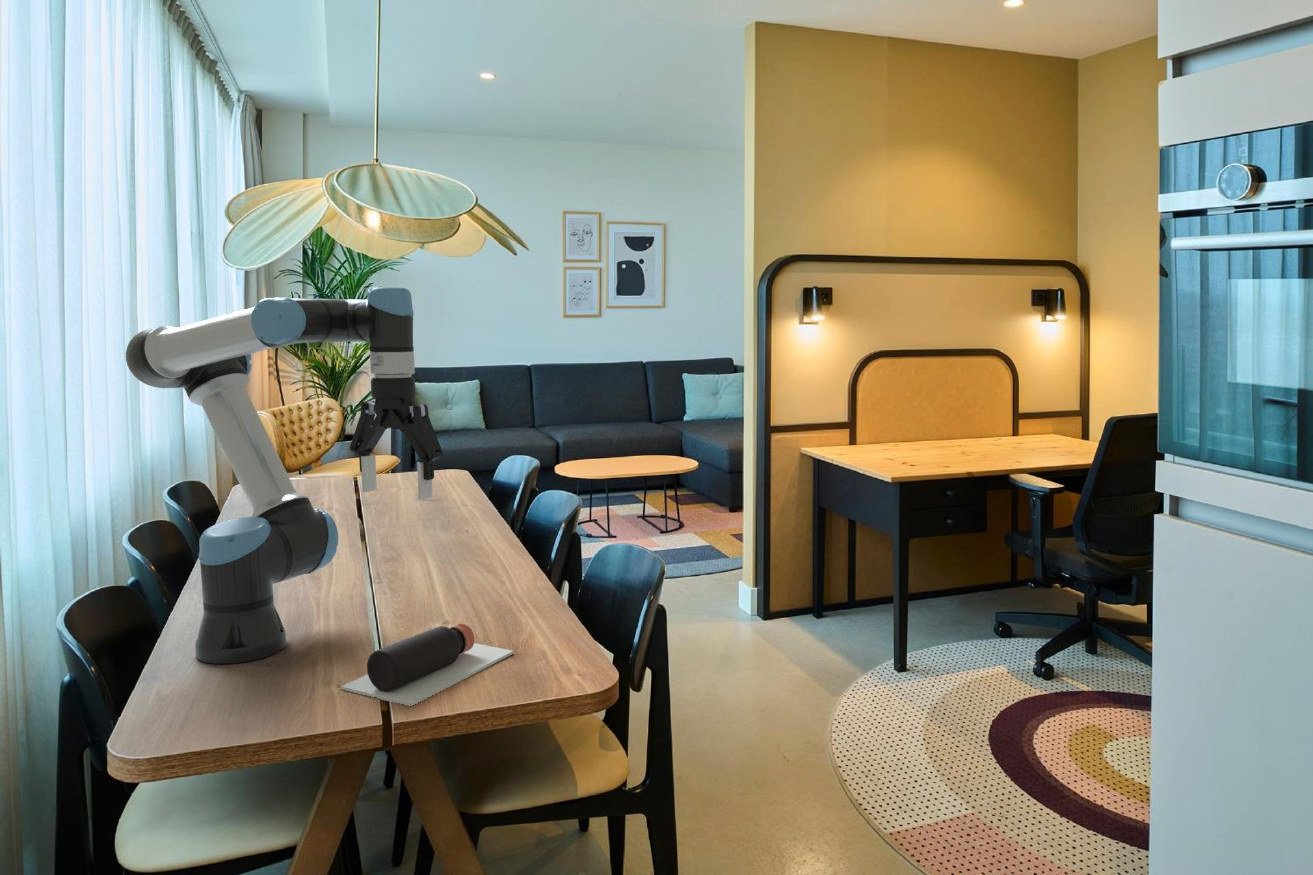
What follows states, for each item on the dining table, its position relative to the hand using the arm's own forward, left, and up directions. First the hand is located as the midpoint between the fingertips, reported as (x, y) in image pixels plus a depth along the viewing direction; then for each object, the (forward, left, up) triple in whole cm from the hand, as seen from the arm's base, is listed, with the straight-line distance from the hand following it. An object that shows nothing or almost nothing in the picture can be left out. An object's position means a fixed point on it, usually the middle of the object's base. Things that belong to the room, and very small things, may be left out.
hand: (397, 494), depth 166 cm
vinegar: (+13, -18, -25) cm, 33 cm away
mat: (+13, -6, -28) cm, 32 cm away
